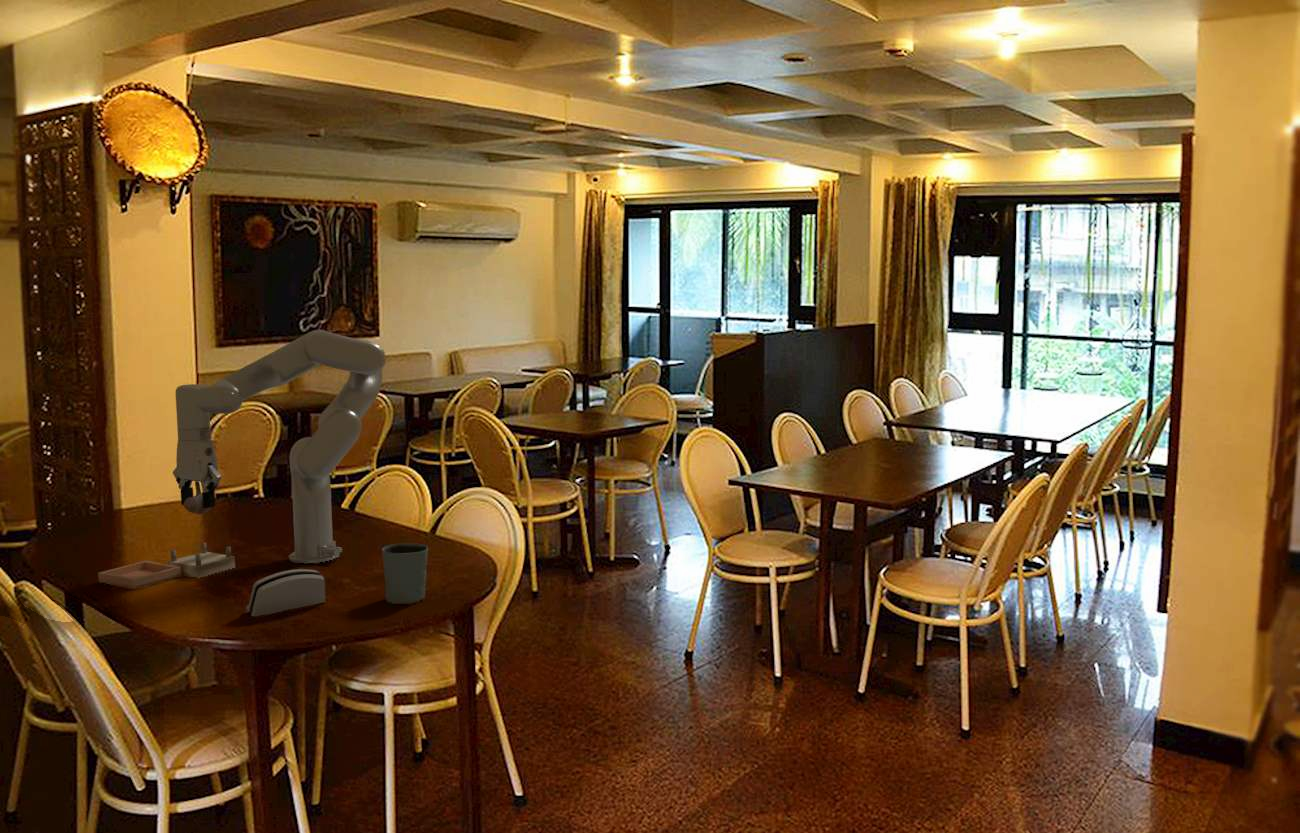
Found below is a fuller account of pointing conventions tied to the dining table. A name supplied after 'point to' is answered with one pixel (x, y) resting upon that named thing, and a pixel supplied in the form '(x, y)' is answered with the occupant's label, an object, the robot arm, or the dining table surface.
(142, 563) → the terracotta dish
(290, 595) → the grey arched block
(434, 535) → the dining table surface
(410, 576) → the grey green cup
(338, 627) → the dining table surface
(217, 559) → the peg rest
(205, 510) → the garlic bulb
